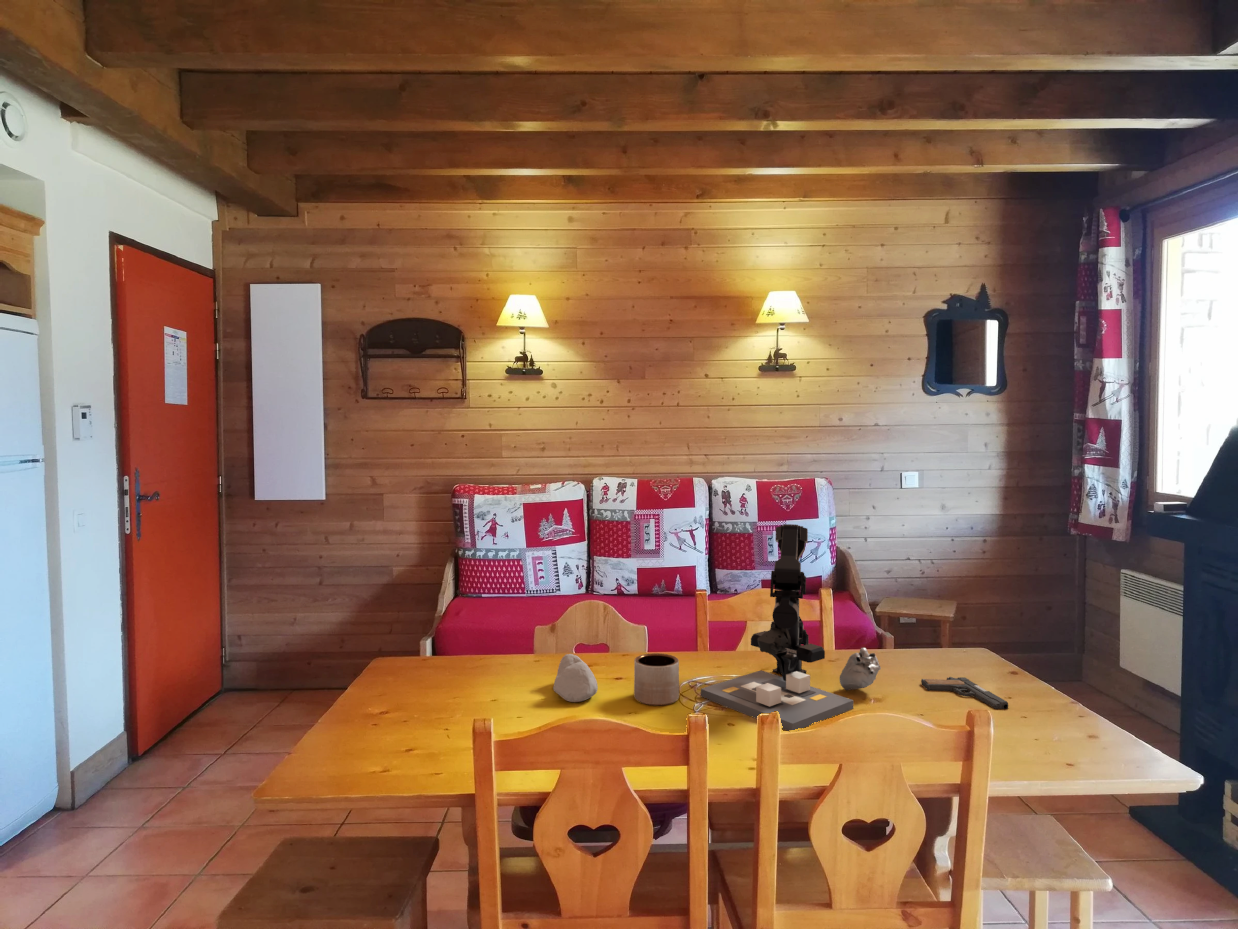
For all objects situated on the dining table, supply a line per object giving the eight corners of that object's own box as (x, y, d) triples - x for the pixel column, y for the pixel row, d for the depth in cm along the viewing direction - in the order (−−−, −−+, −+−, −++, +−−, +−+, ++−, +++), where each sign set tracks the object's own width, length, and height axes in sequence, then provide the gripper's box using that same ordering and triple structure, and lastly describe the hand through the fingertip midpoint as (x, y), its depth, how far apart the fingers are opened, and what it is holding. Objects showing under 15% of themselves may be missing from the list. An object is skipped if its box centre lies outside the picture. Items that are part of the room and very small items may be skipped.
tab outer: (767, 697, 183) (767, 683, 183) (781, 702, 180) (781, 687, 180) (756, 701, 181) (756, 686, 181) (769, 706, 178) (769, 691, 177)
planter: (676, 708, 183) (676, 668, 183) (630, 705, 186) (630, 665, 185) (681, 692, 194) (681, 654, 193) (638, 689, 196) (638, 651, 196)
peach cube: (796, 685, 192) (796, 671, 191) (809, 689, 188) (810, 675, 188) (786, 688, 189) (786, 674, 189) (799, 693, 186) (799, 678, 186)
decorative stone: (605, 693, 186) (581, 659, 186) (571, 718, 185) (546, 684, 184) (598, 674, 203) (575, 643, 203) (566, 698, 202) (544, 667, 202)
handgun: (963, 716, 180) (1010, 711, 182) (963, 707, 180) (1010, 701, 182) (917, 686, 199) (960, 682, 201) (917, 677, 199) (960, 673, 201)
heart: (880, 684, 198) (872, 637, 198) (887, 697, 189) (878, 648, 188) (839, 689, 199) (831, 643, 199) (844, 702, 190) (836, 654, 190)
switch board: (761, 677, 204) (761, 669, 204) (853, 708, 183) (853, 699, 182) (700, 696, 191) (700, 687, 191) (792, 732, 169) (792, 722, 169)
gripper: (735, 615, 193) (735, 677, 194) (796, 631, 178) (795, 699, 179) (766, 608, 200) (765, 668, 201) (826, 623, 185) (825, 688, 186)
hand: (786, 680), depth 191 cm, fingers closed
